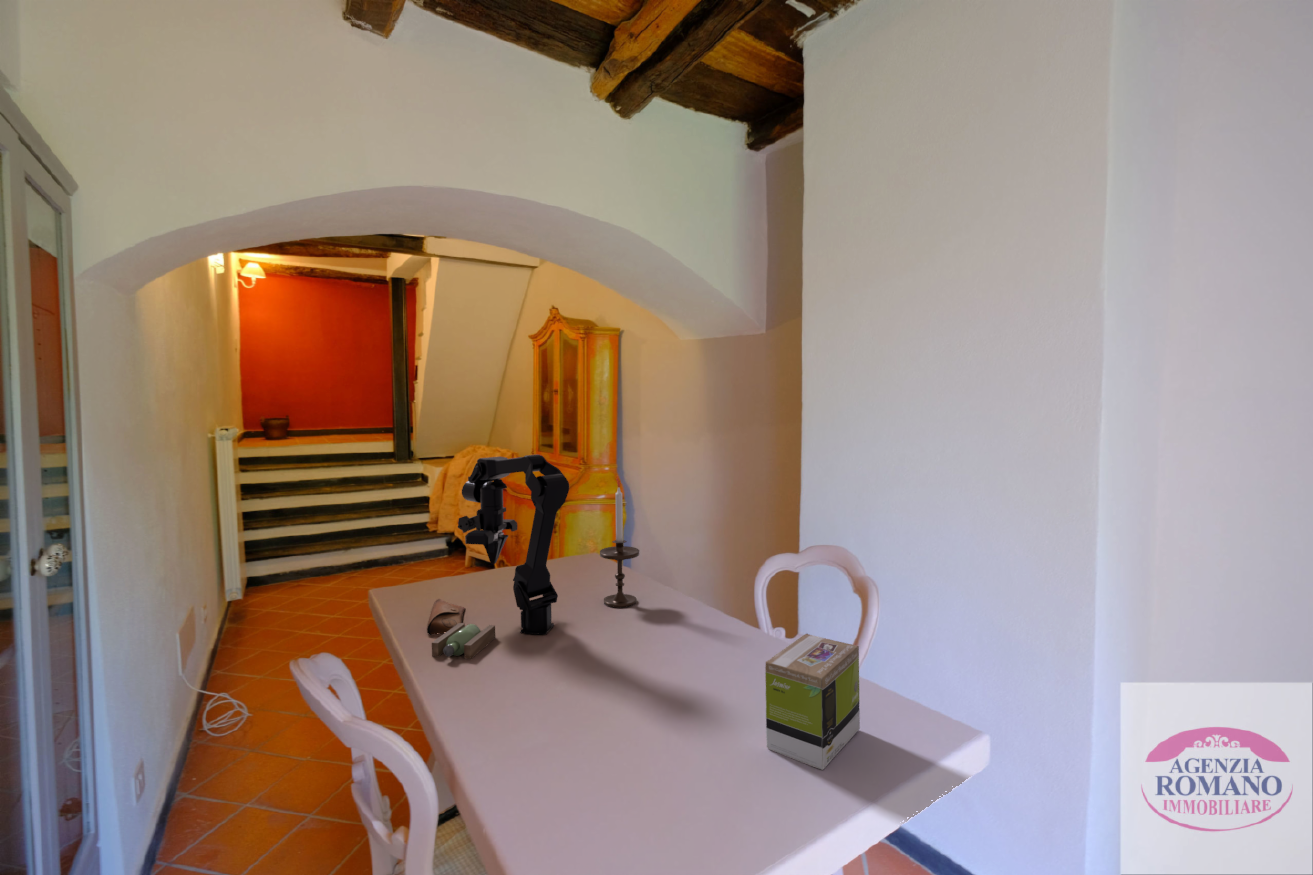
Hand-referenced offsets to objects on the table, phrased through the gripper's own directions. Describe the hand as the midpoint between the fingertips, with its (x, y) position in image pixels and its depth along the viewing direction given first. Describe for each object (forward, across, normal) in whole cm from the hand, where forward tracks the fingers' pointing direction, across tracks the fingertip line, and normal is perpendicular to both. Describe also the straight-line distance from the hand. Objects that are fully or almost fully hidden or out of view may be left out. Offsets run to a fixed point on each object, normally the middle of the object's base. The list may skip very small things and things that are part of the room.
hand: (493, 563), depth 161 cm
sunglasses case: (+14, +8, -9) cm, 18 cm away
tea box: (+13, +48, +79) cm, 93 cm away
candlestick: (+13, -13, +31) cm, 36 cm away
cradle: (+13, +22, +4) cm, 26 cm away
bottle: (+11, +20, +4) cm, 23 cm away
